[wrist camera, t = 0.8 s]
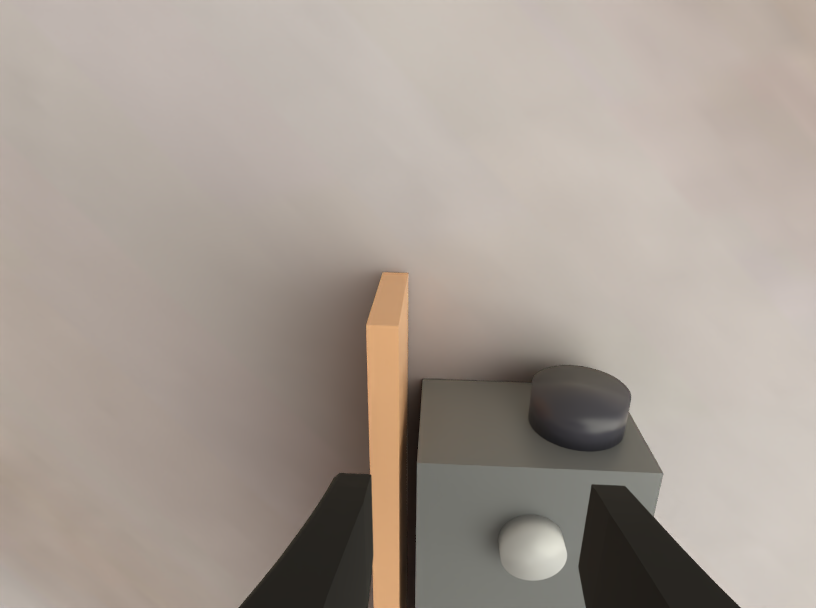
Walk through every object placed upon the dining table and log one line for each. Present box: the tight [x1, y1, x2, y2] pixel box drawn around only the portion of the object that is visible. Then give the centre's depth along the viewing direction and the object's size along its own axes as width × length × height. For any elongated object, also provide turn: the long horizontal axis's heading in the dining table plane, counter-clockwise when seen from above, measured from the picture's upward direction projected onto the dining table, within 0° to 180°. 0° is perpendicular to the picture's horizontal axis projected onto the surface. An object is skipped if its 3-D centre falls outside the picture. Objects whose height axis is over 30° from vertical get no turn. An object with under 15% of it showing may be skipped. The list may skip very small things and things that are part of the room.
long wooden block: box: [366, 272, 408, 608], centre depth 18 cm, size 16×1×4 cm, turn 0°
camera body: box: [415, 365, 663, 608], centre depth 18 cm, size 13×6×5 cm, turn 0°
